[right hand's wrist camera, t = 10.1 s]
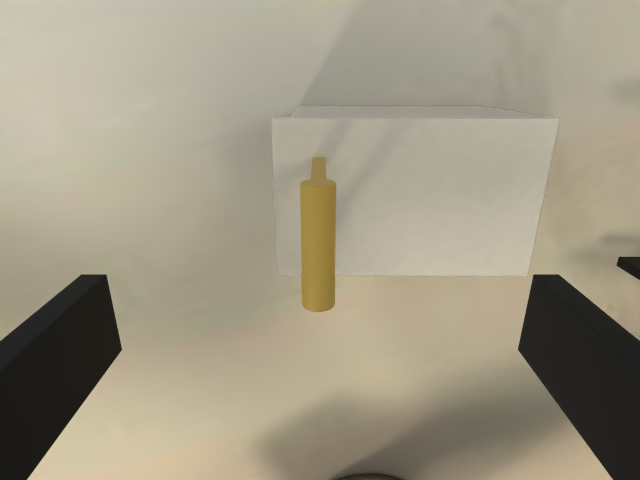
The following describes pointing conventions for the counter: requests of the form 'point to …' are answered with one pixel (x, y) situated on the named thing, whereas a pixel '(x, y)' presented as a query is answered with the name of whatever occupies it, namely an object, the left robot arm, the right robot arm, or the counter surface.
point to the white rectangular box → (406, 197)
